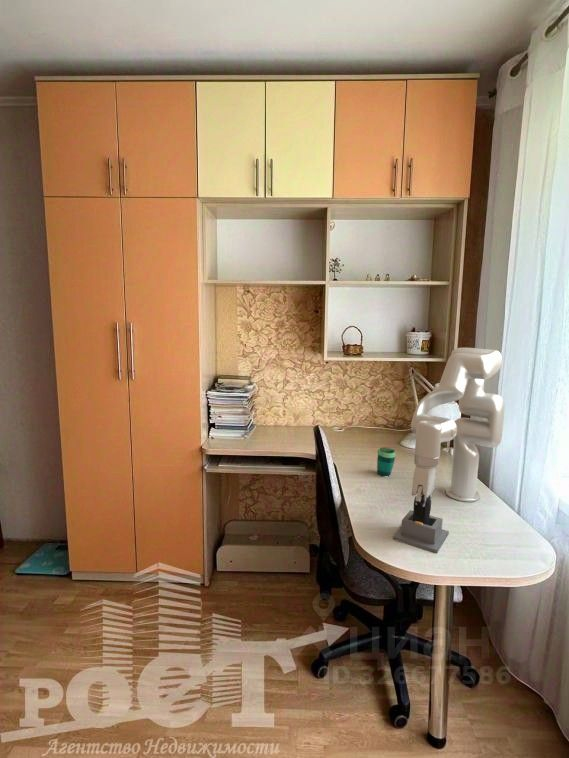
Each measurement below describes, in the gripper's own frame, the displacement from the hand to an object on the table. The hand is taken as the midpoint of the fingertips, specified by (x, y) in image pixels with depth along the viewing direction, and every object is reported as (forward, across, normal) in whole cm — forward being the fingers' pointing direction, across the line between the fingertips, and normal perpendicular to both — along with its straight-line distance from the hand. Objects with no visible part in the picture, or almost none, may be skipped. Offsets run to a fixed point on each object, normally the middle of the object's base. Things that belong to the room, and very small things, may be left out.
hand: (422, 513), depth 140 cm
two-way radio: (+5, 0, 0) cm, 5 cm away
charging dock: (+8, 0, 0) cm, 8 cm away
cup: (+8, -44, -29) cm, 53 cm away
